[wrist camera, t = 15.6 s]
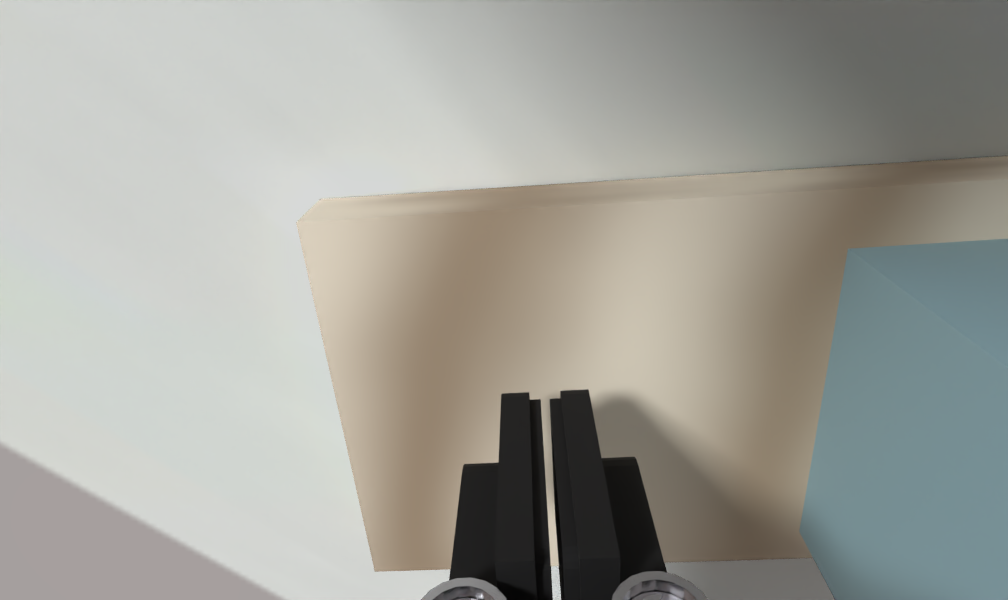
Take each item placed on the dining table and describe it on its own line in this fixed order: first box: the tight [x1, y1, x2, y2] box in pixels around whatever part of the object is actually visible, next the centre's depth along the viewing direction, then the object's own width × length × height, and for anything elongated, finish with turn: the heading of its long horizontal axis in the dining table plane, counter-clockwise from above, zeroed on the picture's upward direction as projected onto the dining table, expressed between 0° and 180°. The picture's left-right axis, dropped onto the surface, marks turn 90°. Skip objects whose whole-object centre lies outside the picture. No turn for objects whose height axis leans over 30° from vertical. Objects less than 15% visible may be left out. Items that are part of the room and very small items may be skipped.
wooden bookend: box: [296, 156, 1008, 572], centre depth 9 cm, size 20×9×12 cm, turn 94°
